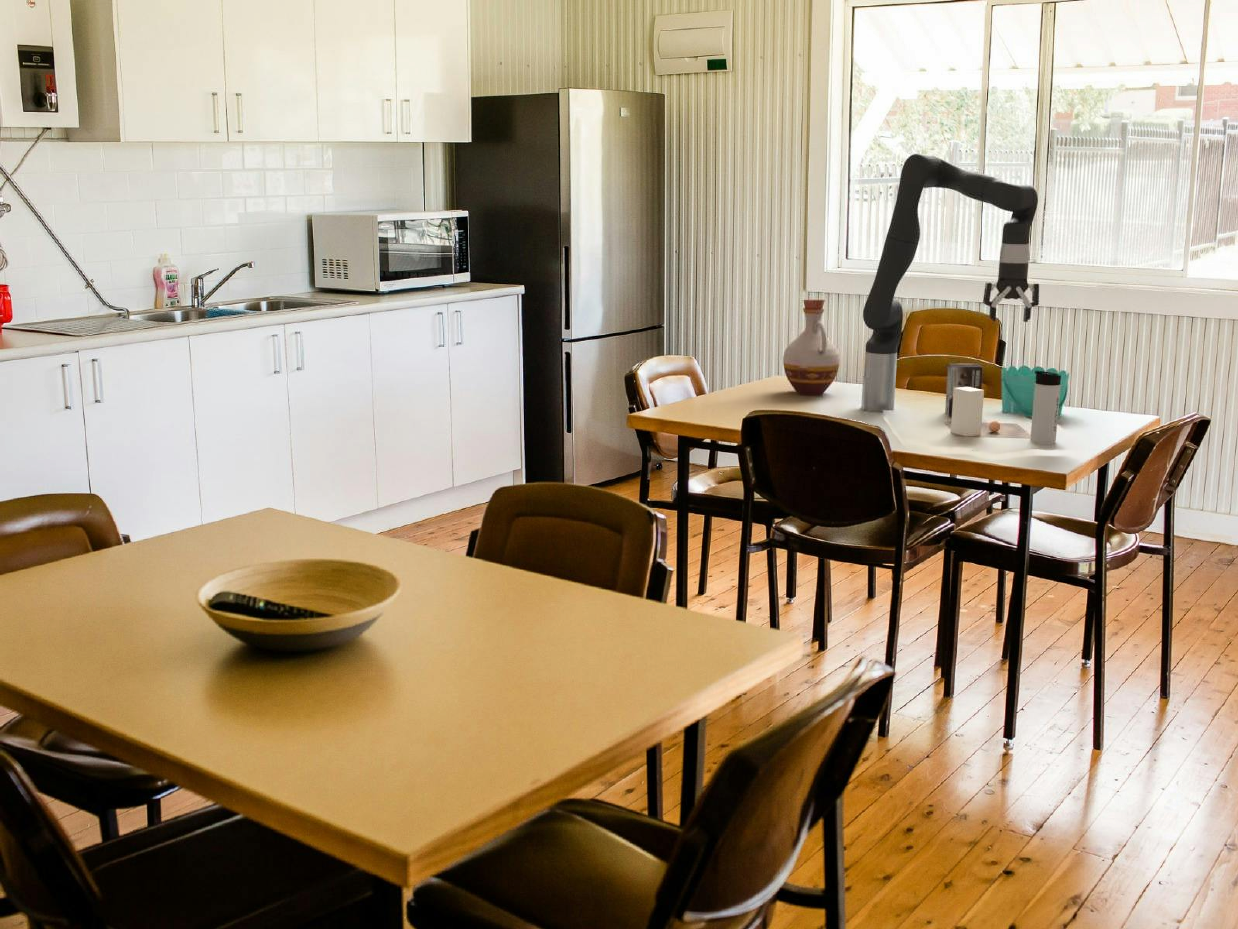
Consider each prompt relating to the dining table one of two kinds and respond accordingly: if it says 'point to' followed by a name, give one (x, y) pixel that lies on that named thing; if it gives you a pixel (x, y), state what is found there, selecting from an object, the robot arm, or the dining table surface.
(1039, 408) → the travel mug
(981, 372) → the coffee box
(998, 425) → the ball
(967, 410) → the cream tall block
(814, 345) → the jug
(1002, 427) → the board
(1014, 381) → the basket
